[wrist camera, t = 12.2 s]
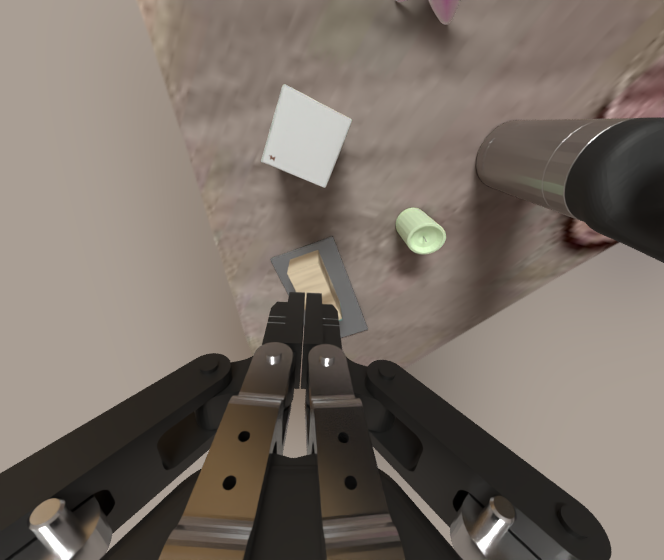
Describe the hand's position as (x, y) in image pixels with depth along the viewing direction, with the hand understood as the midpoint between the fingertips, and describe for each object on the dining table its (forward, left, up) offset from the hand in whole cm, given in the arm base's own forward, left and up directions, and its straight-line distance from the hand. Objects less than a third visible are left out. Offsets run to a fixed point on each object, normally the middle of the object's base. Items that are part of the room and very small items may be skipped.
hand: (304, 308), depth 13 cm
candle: (-16, +5, -33) cm, 37 cm away
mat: (-3, +20, -33) cm, 38 cm away
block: (-4, +22, -30) cm, 37 cm away
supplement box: (+1, -6, -33) cm, 34 cm away
